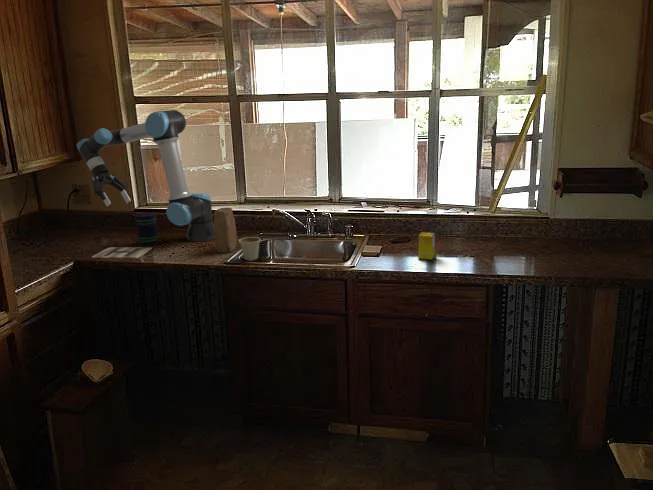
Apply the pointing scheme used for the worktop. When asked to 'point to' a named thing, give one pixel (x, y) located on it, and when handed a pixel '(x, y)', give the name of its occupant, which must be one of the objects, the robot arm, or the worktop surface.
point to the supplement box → (426, 246)
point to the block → (225, 230)
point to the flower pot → (250, 247)
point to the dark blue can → (147, 229)
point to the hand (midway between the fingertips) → (119, 203)
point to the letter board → (122, 252)
